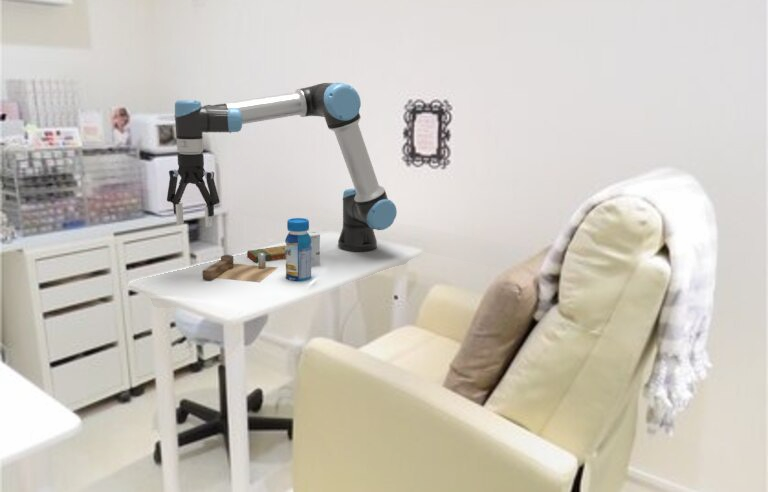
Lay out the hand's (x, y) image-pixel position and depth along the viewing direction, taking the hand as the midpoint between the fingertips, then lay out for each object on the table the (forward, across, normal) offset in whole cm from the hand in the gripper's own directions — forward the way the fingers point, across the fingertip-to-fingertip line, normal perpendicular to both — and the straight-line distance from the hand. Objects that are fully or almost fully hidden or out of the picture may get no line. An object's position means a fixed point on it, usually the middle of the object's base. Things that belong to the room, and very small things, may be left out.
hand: (194, 225), depth 183 cm
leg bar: (+16, +6, +4) cm, 17 cm away
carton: (+18, +15, +26) cm, 35 cm away
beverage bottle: (+18, +32, +7) cm, 37 cm away
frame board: (+18, +12, +7) cm, 23 cm away
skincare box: (+18, +30, +21) cm, 41 cm away
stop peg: (+16, +16, +13) cm, 27 cm away
